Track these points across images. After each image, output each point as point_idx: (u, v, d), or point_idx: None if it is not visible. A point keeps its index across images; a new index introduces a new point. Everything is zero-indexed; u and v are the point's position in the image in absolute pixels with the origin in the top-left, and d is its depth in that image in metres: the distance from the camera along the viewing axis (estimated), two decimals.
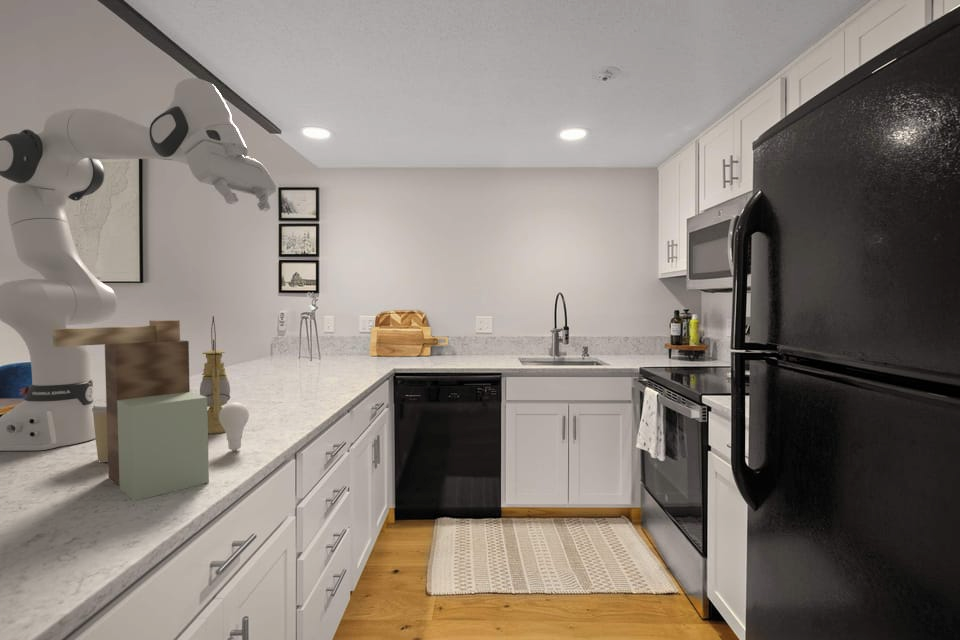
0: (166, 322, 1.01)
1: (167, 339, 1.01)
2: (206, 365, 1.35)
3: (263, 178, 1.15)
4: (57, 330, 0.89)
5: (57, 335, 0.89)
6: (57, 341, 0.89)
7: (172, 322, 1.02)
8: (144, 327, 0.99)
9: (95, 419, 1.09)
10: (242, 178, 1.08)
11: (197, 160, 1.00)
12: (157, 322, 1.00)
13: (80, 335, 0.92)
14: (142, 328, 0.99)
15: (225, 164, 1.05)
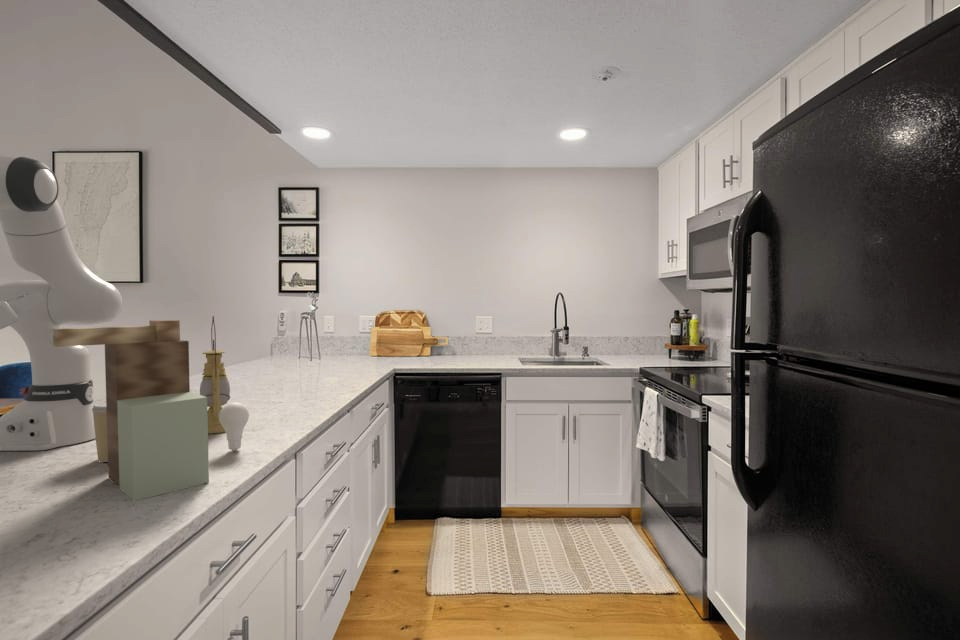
0: (166, 322, 1.01)
1: (167, 339, 1.01)
2: (206, 365, 1.35)
3: None
4: (57, 330, 0.89)
5: (57, 335, 0.89)
6: (57, 341, 0.89)
7: (172, 322, 1.02)
8: (144, 327, 0.99)
9: (95, 419, 1.09)
10: None
11: None
12: (157, 322, 1.00)
13: (80, 335, 0.92)
14: (142, 328, 0.99)
15: None
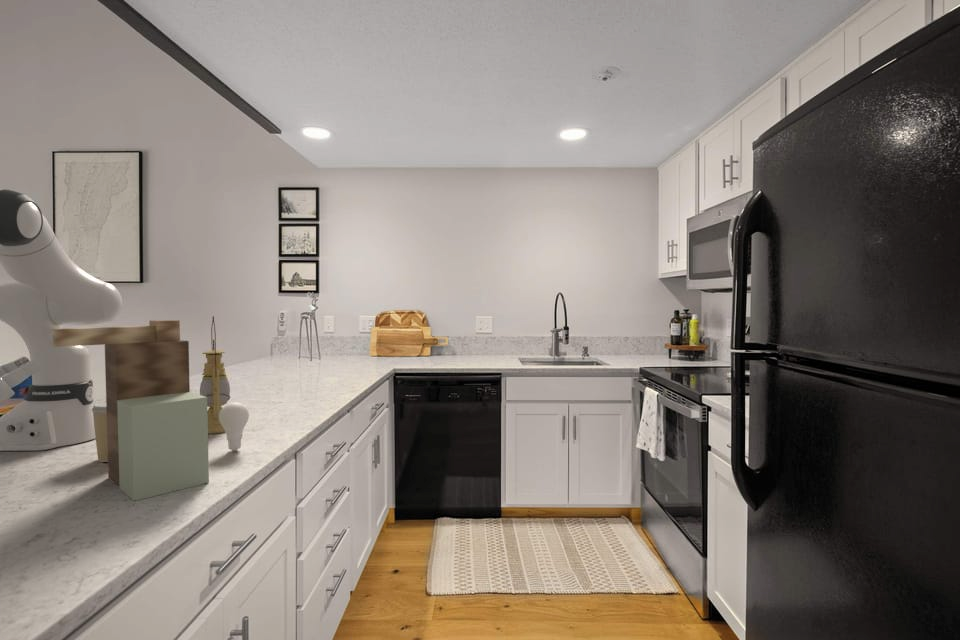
0: (166, 322, 1.01)
1: (167, 339, 1.01)
2: (206, 365, 1.35)
3: None
4: (57, 330, 0.89)
5: (57, 335, 0.89)
6: (57, 341, 0.89)
7: (172, 322, 1.02)
8: (144, 327, 0.99)
9: (95, 419, 1.09)
10: None
11: None
12: (157, 322, 1.00)
13: (80, 335, 0.92)
14: (142, 328, 0.99)
15: None
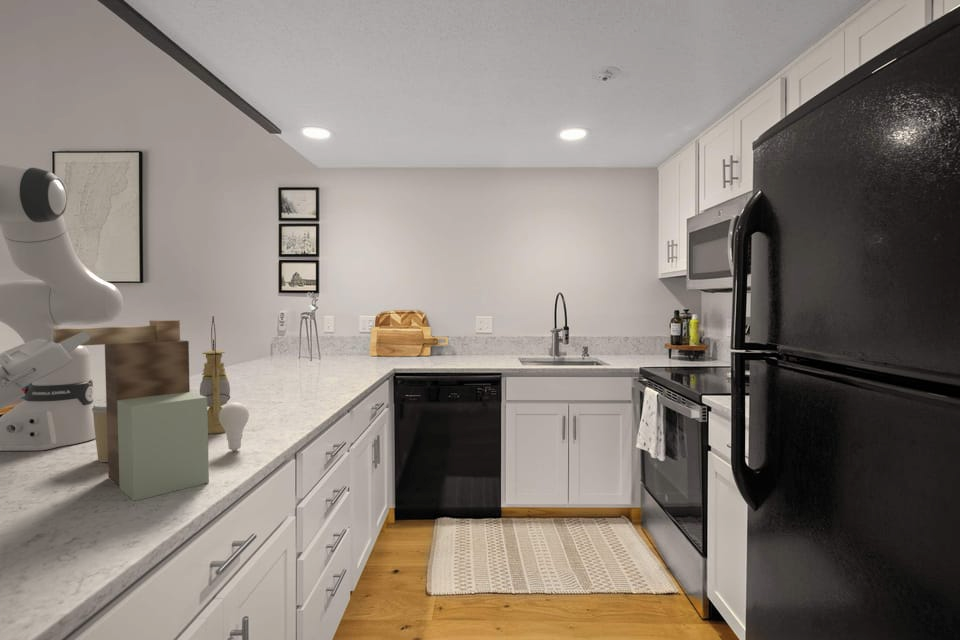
0: (166, 322, 1.01)
1: (167, 339, 1.01)
2: (206, 365, 1.35)
3: None
4: (57, 330, 0.89)
5: (57, 335, 0.89)
6: (57, 341, 0.89)
7: (172, 322, 1.02)
8: (144, 327, 0.99)
9: (95, 419, 1.09)
10: None
11: None
12: (157, 322, 1.00)
13: None
14: (142, 328, 0.99)
15: None
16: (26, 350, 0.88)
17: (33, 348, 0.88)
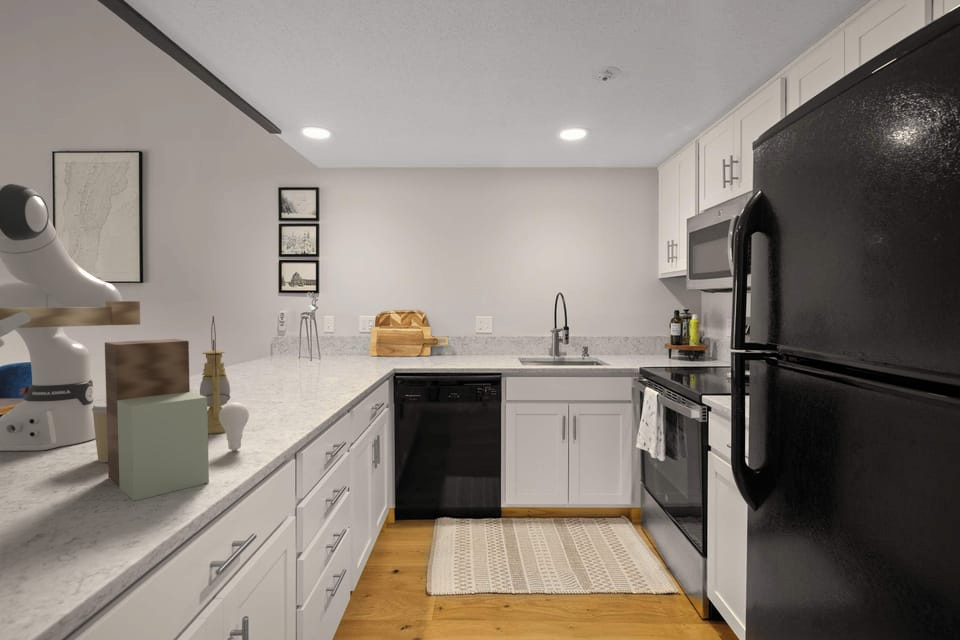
0: (124, 303, 0.88)
1: (125, 322, 0.89)
2: (206, 365, 1.35)
3: None
4: None
5: None
6: None
7: (131, 303, 0.89)
8: (97, 308, 0.86)
9: (95, 419, 1.09)
10: None
11: None
12: (113, 303, 0.87)
13: None
14: (95, 309, 0.86)
15: None
16: None
17: None
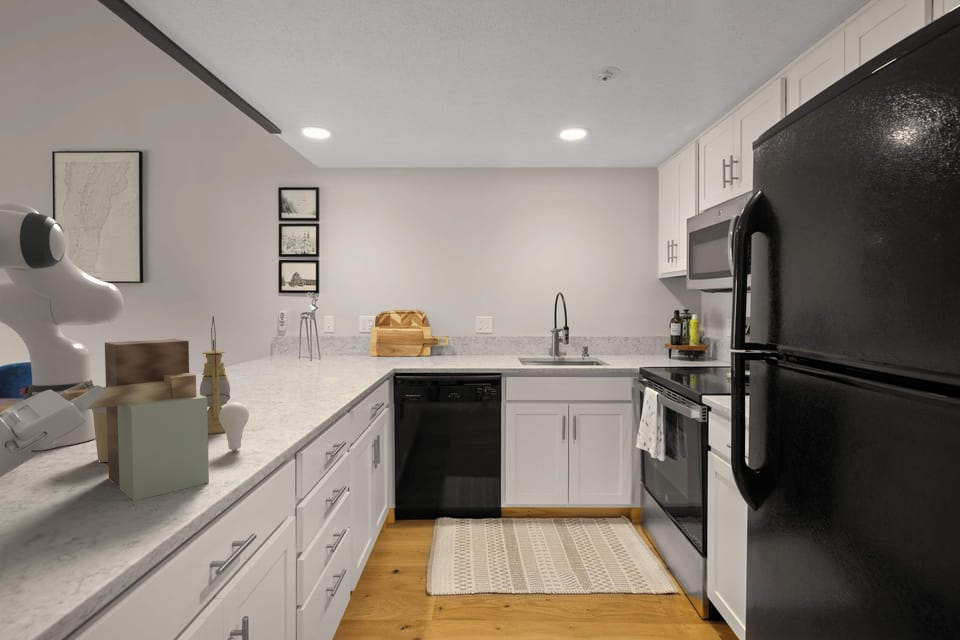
0: (182, 378, 0.95)
1: (183, 396, 0.96)
2: (206, 365, 1.35)
3: None
4: (68, 394, 0.84)
5: (68, 399, 0.84)
6: None
7: (188, 377, 0.96)
8: (159, 384, 0.93)
9: (95, 419, 1.09)
10: None
11: None
12: (173, 378, 0.94)
13: None
14: (157, 386, 0.93)
15: None
16: (36, 407, 0.83)
17: (43, 405, 0.82)
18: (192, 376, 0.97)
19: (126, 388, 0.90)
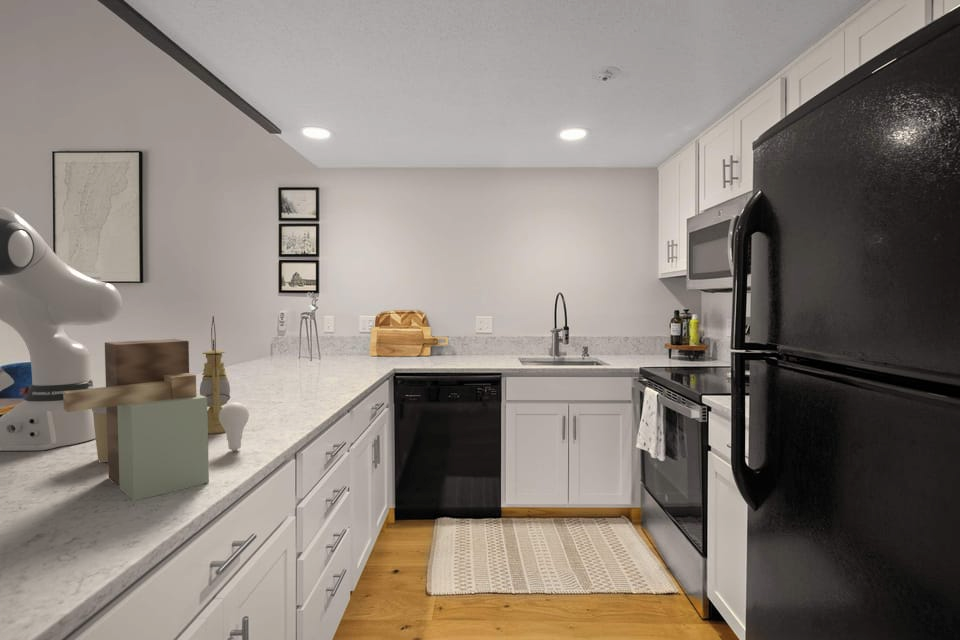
0: (182, 378, 0.95)
1: (183, 396, 0.96)
2: (206, 365, 1.35)
3: None
4: (68, 394, 0.84)
5: (68, 399, 0.84)
6: (68, 406, 0.84)
7: (188, 377, 0.96)
8: (159, 384, 0.93)
9: (95, 419, 1.09)
10: None
11: None
12: (173, 378, 0.94)
13: (92, 398, 0.86)
14: (157, 386, 0.93)
15: None
16: None
17: None
18: (192, 376, 0.97)
19: (126, 388, 0.90)
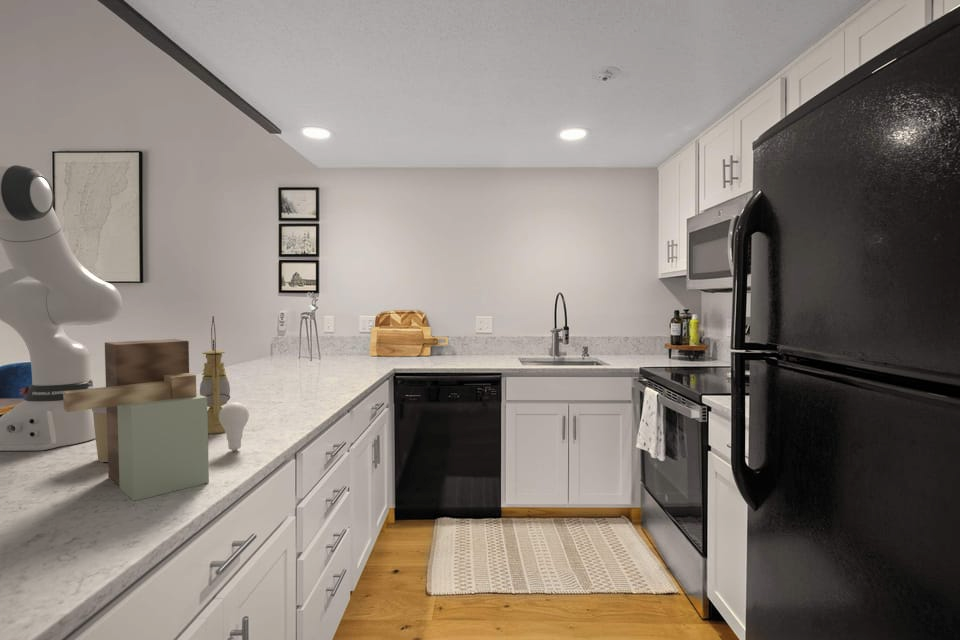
0: (182, 378, 0.95)
1: (183, 396, 0.96)
2: (206, 365, 1.35)
3: None
4: (68, 394, 0.84)
5: (68, 399, 0.84)
6: (68, 406, 0.84)
7: (188, 377, 0.96)
8: (159, 384, 0.93)
9: (95, 419, 1.09)
10: None
11: None
12: (173, 378, 0.94)
13: (92, 398, 0.86)
14: (157, 386, 0.93)
15: None
16: None
17: None
18: (192, 376, 0.97)
19: (126, 388, 0.90)
